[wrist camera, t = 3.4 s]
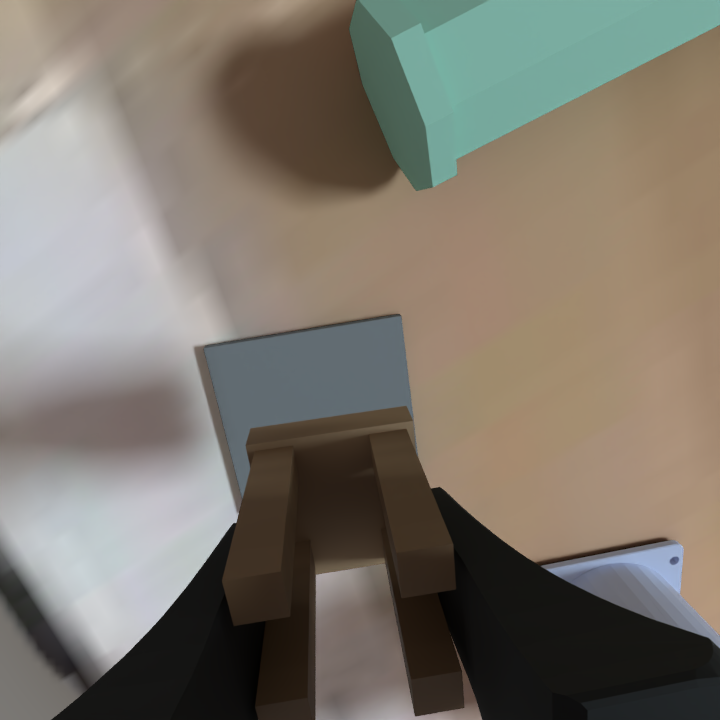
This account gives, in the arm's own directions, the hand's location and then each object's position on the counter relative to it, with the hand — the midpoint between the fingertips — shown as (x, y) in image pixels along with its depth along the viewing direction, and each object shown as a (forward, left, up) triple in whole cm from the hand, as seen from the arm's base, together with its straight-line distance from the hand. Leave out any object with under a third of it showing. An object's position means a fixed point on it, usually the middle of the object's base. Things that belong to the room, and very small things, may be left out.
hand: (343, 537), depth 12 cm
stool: (0, 0, -2) cm, 2 cm away
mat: (-1, +1, -9) cm, 9 cm away
